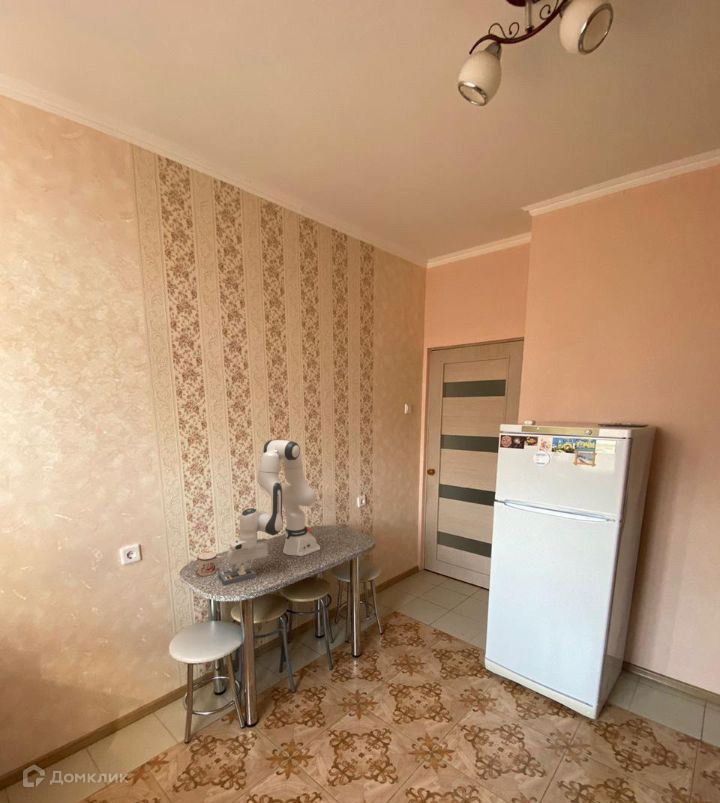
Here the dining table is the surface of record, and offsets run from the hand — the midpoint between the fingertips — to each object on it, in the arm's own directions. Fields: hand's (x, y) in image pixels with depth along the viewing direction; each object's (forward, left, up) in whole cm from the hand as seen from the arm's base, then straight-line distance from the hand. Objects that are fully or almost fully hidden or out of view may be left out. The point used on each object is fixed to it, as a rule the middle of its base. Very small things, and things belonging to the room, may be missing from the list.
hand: (247, 568), depth 186 cm
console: (+4, -3, -4) cm, 7 cm away
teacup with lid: (+15, -16, -5) cm, 22 cm away
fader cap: (+3, 0, -2) cm, 3 cm away
